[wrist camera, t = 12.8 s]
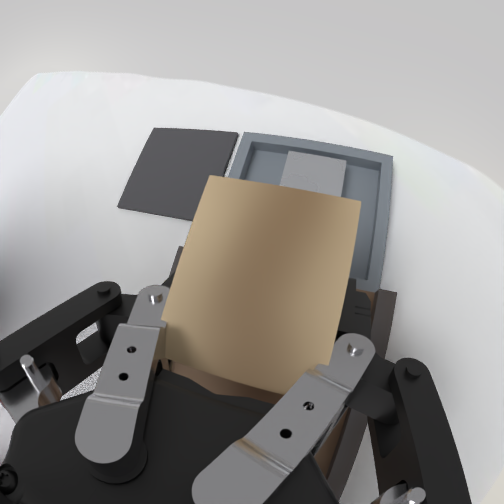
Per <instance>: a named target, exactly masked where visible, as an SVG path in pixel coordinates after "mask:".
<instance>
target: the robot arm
mask: <svg viewBox="0 0 504 504" xmlns="http://www.w3.org/2000/svg"><path fill="white" fill-rule="evenodd" d="M175 272H176V271H175ZM175 272H174V273H173V274H172V275H171V276H170V277H169V278H168V279H167V280H166V281H165V282H164V283H163V284H162V285H152V286H148V287H146V288H144V289H142V290H141V291H140V292H139V294H138V295H128V294H121V289H120V286H119V285H118V284H117V283H115V282H110V281H105V282H100V283H97V284H95V285H93V286H91V287H90V288H88V289H86V290H84V291H83V292H81V293H79V294H77V295H76V296H74V297H72V298H70V299H69V300H67V301H65V302H64V303H62V304H60V305H59V306H57V307H55V308H53V309H52V310H50V311H48V312H47V313H45V314H43V315H42V316H40V317H38V318H37V319H35V320H33V321H32V322H30V323H28V324H27V325H25V326H24V327H22V328H20V329H19V330H17V331H15V332H14V333H12V334H11V335H9V336H7V337H6V338H4V339H3V340H1V341H0V403H1V405H2V406H3V407H4V408H5V409H6V410H7V411H8V413H9V414H10V416H11V417H12V419H13V420H14V422H15V423H16V425H15V427H14V429H13V432H12V436H11V441H10V445H9V449H8V452H7V455H6V457H5V459H4V461H3V463H2V465H1V466H0V504H339V502H338V500H337V498H336V496H335V495H334V493H333V491H332V489H331V487H330V486H329V484H328V482H327V480H326V478H325V476H324V475H323V473H322V471H321V469H320V467H319V465H318V464H317V462H316V460H315V458H314V457H315V455H316V454H317V453H318V451H319V450H320V448H321V447H322V445H323V444H324V442H325V441H326V439H327V438H328V436H329V435H330V433H331V432H332V430H333V429H334V428H335V426H336V425H337V423H338V422H339V420H340V419H341V417H342V416H343V414H344V413H345V411H346V409H347V408H348V407H350V408H352V409H354V410H356V411H358V412H361V413H363V414H365V415H367V420H368V426H369V431H370V437H371V443H372V449H373V455H374V461H375V468H376V475H377V482H378V489H379V497H378V498H377V499H375V500H374V501H373V502H372V503H371V504H472V503H471V499H470V495H469V491H468V487H467V483H466V479H465V475H464V472H463V468H462V465H461V461H460V458H459V454H458V451H457V448H456V444H455V441H454V438H453V435H452V432H451V429H450V426H449V423H448V420H447V417H446V414H445V411H444V409H443V406H442V403H441V400H440V398H439V395H438V392H437V390H436V387H435V384H434V382H433V379H432V377H431V374H430V372H429V370H428V368H427V367H426V366H425V365H424V364H423V363H422V362H420V361H418V360H416V359H413V358H403V359H400V360H399V361H397V362H396V364H394V363H392V362H390V361H388V360H385V359H384V358H382V357H380V356H379V355H378V354H377V353H376V352H375V347H374V345H373V343H372V342H371V311H370V310H371V301H370V299H369V297H368V296H367V294H366V293H364V292H359V291H356V279H354V278H349V279H348V284H347V288H346V293H345V298H344V303H343V307H342V312H341V316H340V321H339V325H338V329H337V334H336V338H335V342H334V346H333V350H332V354H331V358H330V362H329V365H324V364H318V365H317V366H316V367H315V369H314V370H312V369H308V370H306V371H305V372H304V374H303V375H302V376H301V377H300V378H299V379H298V380H297V382H296V383H295V384H294V385H293V386H292V387H291V388H290V389H289V390H288V392H287V393H286V394H285V395H284V396H283V397H282V398H281V399H280V400H279V401H278V403H277V404H272V403H268V402H264V401H260V400H257V399H253V398H250V397H241V396H230V395H220V394H215V393H212V392H211V391H209V390H207V389H206V388H204V387H203V386H201V385H199V384H198V383H196V382H195V381H193V380H191V379H190V378H187V377H185V376H182V375H179V374H176V373H174V368H175V361H172V360H170V359H167V358H165V350H166V326H167V322H166V321H163V320H161V317H162V314H163V310H164V307H165V304H166V301H167V297H168V294H169V291H170V288H171V285H172V281H173V278H174V275H175ZM95 322H96V325H97V328H98V331H96V332H95V333H93V334H92V335H90V336H89V337H87V338H86V339H84V340H83V341H81V342H80V343H78V344H76V337H77V335H78V334H79V333H80V332H81V331H83V330H84V329H86V328H87V327H89V326H90V325H92V324H93V323H95ZM102 366H103V367H102ZM101 367H102V370H101V373H100V376H99V379H98V381H97V384H96V387H95V390H92V391H89V392H86V393H83V394H80V395H77V396H74V397H71V398H67V399H64V400H61V401H60V399H61V397H62V396H63V395H64V394H66V393H67V392H68V391H70V390H71V389H72V388H74V387H75V386H76V385H78V384H79V383H80V382H82V381H83V380H84V379H86V378H87V377H89V376H90V375H91V374H93V373H94V372H95V371H97V370H98V369H99V368H101Z"/></svg>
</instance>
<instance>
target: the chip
mask: <svg viewBox="0 0 504 504" xmlns="http://www.w3.org/2000/svg"><path fill="white" fill-rule="evenodd" d="M346 162H347V161H346V160H341V159H335V158H330V157H324V156H319V155H313V154H307V153H300V152H294V151H289V152H288V156H287V159H286V163H285V167H284V170H283V174H282V178H281V182H280V185H279V186H285V187H290V188H296V189H302V190H307V191H312V192H318V193H323V194H328V195H333V196H338V197H341V194H342V188H343V181H344V175H345V168H346Z"/></svg>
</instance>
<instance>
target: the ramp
mask: <svg viewBox="0 0 504 504" xmlns="http://www.w3.org/2000/svg"><path fill="white" fill-rule="evenodd" d="M183 248H184V247H181V246H179V248H178V251H177V254H176V257H175V260H174V263H173V266H172V269H171V272H170V275H169V277H170V276H171V275H172V274H173V273H174V272H175V271H176V269H177V266H178V263H179V260H180V257H181V254H182V251H183ZM356 291H359V292H364V293H366V294H367V296H368V297H369V299H370V301H371V310H370V311H371V342H372V343H373V345H374V347H375V352H376V353H377V354H378V355H379V356H380V357H382V358H384V359H385V354H386V350H387V345H388V340H389V335H390V330H391V325H392V320H393V314H394V308H395V302H396V296H397V292H392V291H387V290H382V289H378V290H377V291H376V292H375V293H374V292H369V291H364V290H360V289H356ZM174 373H176V374H179V375H182V376H185V377H187V378H190V379H191V380H193V381H195V382H196V383H198V384H199V385H201V386H203V387H204V388H206V389H207V390H209V391H211V392H212V393H215V394H220V395H230V396H241V397H250V398H253V399H257V400H260V401H264V402H268V403H272V404H277V403H278V401H279V400H280V399H281V398H282V397H283V396H284V395H283V394H279V393H275V392H271V391H267V390H264V389H260V388H256V387H253V386H249V385H246V384H242V383H239V382H236V381H232V380H229V379H226V378H222V377H219V376H216V375H213V374H210V373H207V372H204V371H201V370H198V369H195V368H192V367H189V366H186V365H184V364H181V363H178V362H175V368H174ZM367 422H368V420H367V415H365V414H363V413H361V412H358V411H356V410H354V409H352V408H350V407H348V408H347V409H346V411H345V413H344V414H343V416H342V417H341V419H340V420H339V422H338V423H337V425H336V426H335V428H334V429H333V430H332V432H331V433H330V435H329V436H328V438H327V439H326V441H325V442H324V444H323V445H322V447H321V448H320V450H319V451H318V453H317V454H316V455H315V457H314V458H315V460H316V462H317V464H318V465H319V467H320V469H321V471H322V473H323V475H324V476H325V478H326V480H327V482H328V484H329V486H330V487H331V489H332V491H333V493H334V495H335V496H336V498H337V500H338V501H339V499H340V497H341V494H342V492H343V490H344V487H345V485H346V482H347V480H348V477H349V474H350V472H351V469H352V466H353V464H354V461H355V458H356V455H357V453H358V450H359V447H360V444H361V441H362V438H363V435H364V432H365V429H366V425H367Z"/></svg>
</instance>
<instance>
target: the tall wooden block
mask: <svg viewBox="0 0 504 504" xmlns="http://www.w3.org/2000/svg"><path fill="white" fill-rule="evenodd" d="M360 208H361V201H357V200H353V199H348V198H343V197H338V196H333V195H328V194H323V193H318V192H312V191H307V190H302V189H296V188H290V187H285V186H279V185H273V184H267V183H261V182H254V181H248V180H241V179H234V178H228V177H220V176H213V175H210V176H209V178H208V181H207V184H206V186H205V189H204V192H203V194H202V197H201V200H200V202H199V205H198V208H197V211H196V214H195V216H194V219H193V222H192V225H191V228H190V231H189V233H188V236H187V239H186V242H185V245H184V248H183V251H182V254H181V257H180V260H179V263H178V266H177V269H176V272H175V275H174V278H173V281H172V285H171V288H170V291H169V294H168V297H167V301H166V304H165V307H164V310H163V314H162V317H161V320H163V321H166V322H167V326H166V350H165V358H167V359H170V360H172V361H175V362H178V363H181V364H184V365H186V366H189V367H192V368H195V369H198V370H201V371H204V372H207V373H210V374H213V375H216V376H219V377H222V378H226V379H229V380H232V381H236V382H239V383H242V384H246V385H249V386H253V387H256V388H260V389H264V390H267V391H271V392H275V393H279V394H283V395H285V394H286V393H287V392H288V390H289V389H290V388H291V387H292V386H293V385H294V384H295V383H296V382H297V380H298V379H299V378H300V377H301V376H302V375H303V374H304V372H305V371H306V370H308V369H312V370H314V369H315V367H316V366H317V365H318V364H324V365H329V362H330V358H331V354H332V350H333V346H334V342H335V338H336V334H337V329H338V325H339V321H340V316H341V312H342V307H343V303H344V298H345V293H346V288H347V284H348V279H349V273H350V268H351V263H352V257H353V252H354V246H355V240H356V234H357V228H358V221H359V215H360Z"/></svg>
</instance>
